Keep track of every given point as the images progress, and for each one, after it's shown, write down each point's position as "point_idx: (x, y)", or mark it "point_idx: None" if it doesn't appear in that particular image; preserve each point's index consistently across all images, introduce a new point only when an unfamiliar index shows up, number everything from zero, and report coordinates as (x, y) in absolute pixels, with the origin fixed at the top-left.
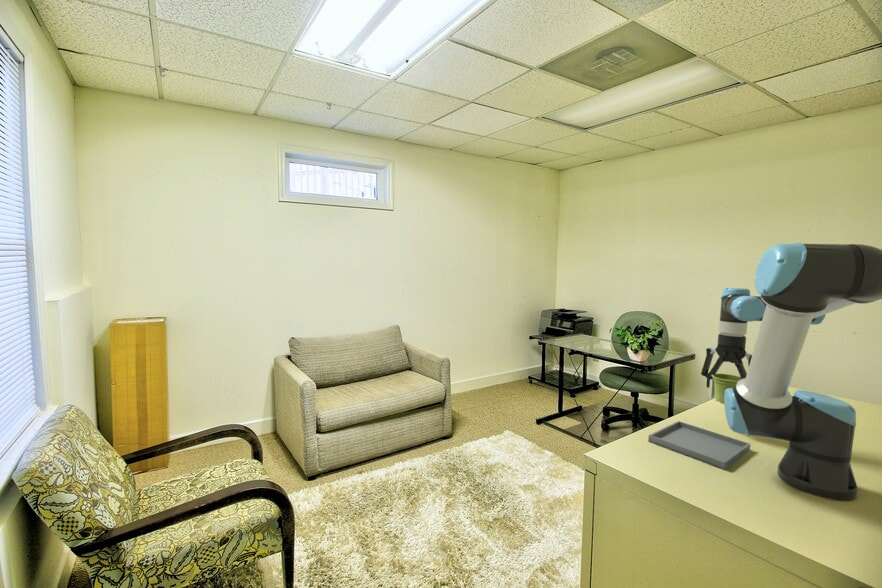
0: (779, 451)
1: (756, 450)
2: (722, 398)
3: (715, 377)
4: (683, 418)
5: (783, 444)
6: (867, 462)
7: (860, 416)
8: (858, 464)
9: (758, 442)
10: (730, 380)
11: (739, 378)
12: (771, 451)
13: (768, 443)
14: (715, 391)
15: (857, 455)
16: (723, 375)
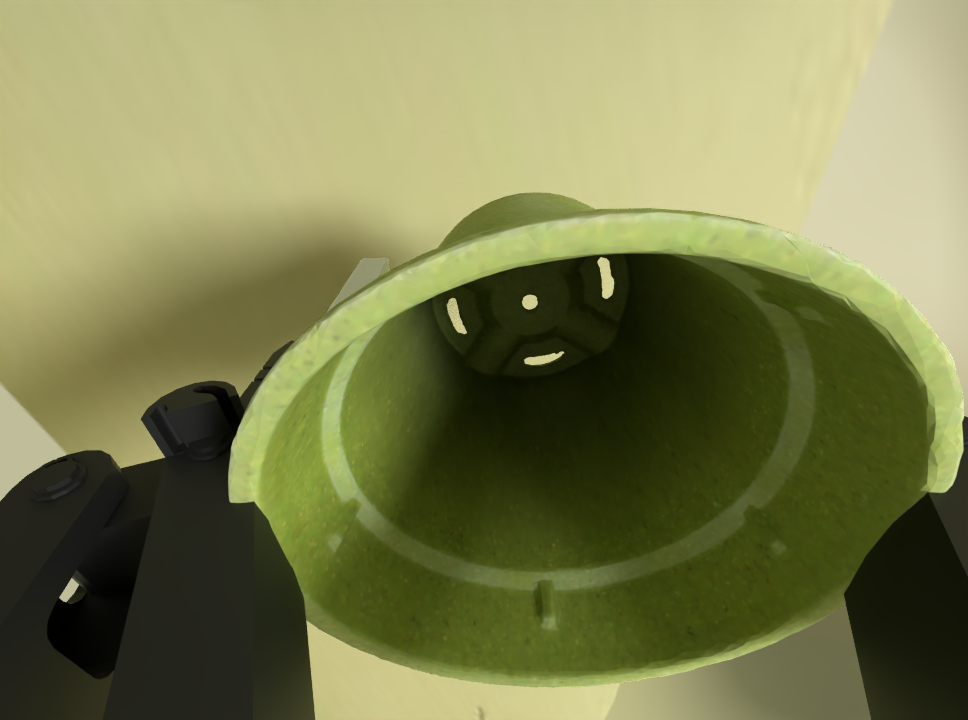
0: (197, 170)
1: (246, 29)
2: (545, 199)
3: (881, 281)
4: (771, 213)
5: (260, 305)
6: (31, 395)
7: (325, 699)
8: (12, 343)
9: (325, 211)
10: (407, 297)
11: (456, 640)
12: (208, 119)
13: (295, 249)
14: (669, 263)
15: (97, 435)
16: (687, 628)
